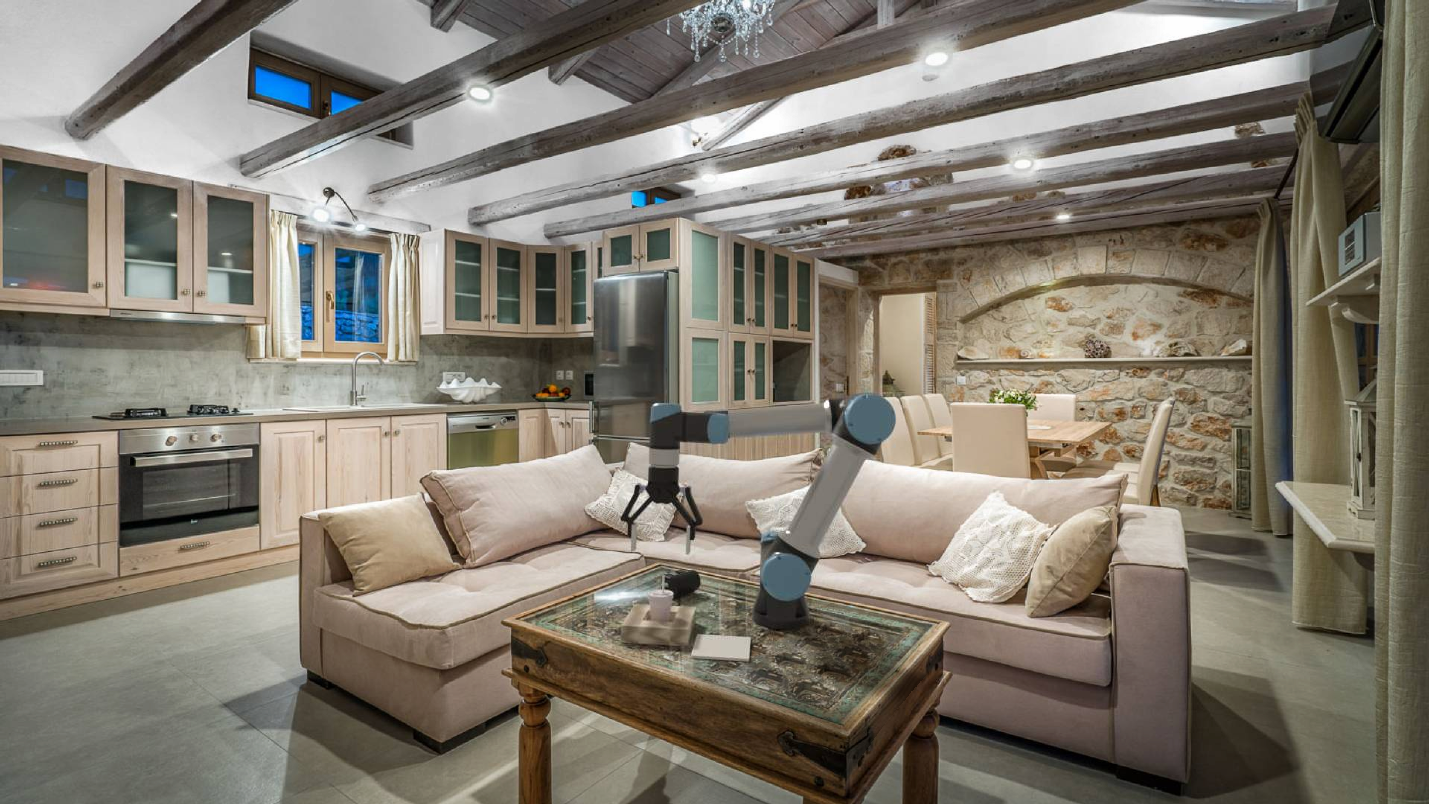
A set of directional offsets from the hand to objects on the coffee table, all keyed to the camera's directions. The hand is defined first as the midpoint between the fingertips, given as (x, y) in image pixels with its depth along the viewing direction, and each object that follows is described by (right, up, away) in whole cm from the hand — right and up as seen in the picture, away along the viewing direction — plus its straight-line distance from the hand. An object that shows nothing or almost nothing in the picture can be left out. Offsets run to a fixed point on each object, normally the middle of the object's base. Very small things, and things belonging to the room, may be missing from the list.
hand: (660, 551), depth 161 cm
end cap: (+3, -20, +30) cm, 36 cm away
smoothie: (0, -20, 0) cm, 20 cm away
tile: (+15, -21, -9) cm, 27 cm away
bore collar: (0, -20, 0) cm, 20 cm away
